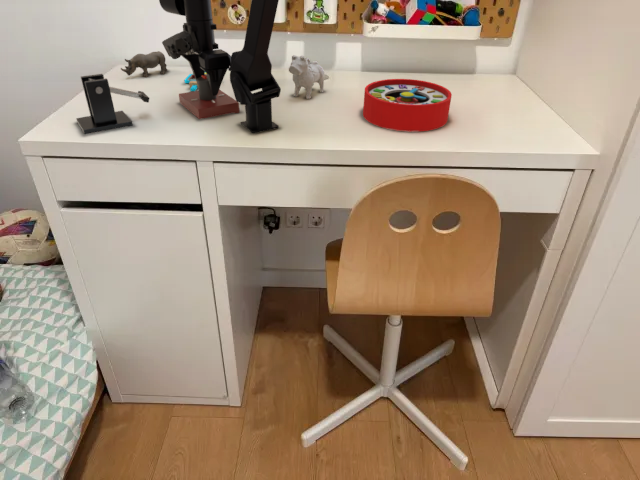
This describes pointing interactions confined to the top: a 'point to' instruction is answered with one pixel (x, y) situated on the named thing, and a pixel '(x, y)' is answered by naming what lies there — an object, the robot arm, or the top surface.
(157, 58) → the rhino figurine
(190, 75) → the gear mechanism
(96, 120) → the lever bracket
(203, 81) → the timer dial
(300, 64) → the dog figurine
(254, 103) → the robot arm
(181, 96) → the dial panel
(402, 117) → the toy clock
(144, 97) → the lever
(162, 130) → the top surface
